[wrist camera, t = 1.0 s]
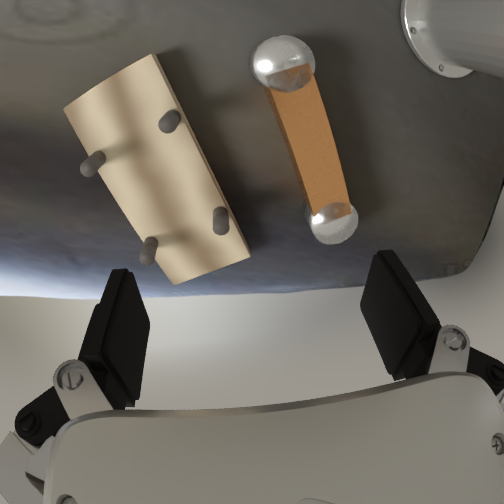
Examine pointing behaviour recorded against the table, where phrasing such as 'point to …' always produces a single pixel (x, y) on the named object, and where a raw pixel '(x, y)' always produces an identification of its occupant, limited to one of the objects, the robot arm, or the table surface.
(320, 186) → the orange dumbbell
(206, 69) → the table surface
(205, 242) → the tool rack
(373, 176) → the table surface
